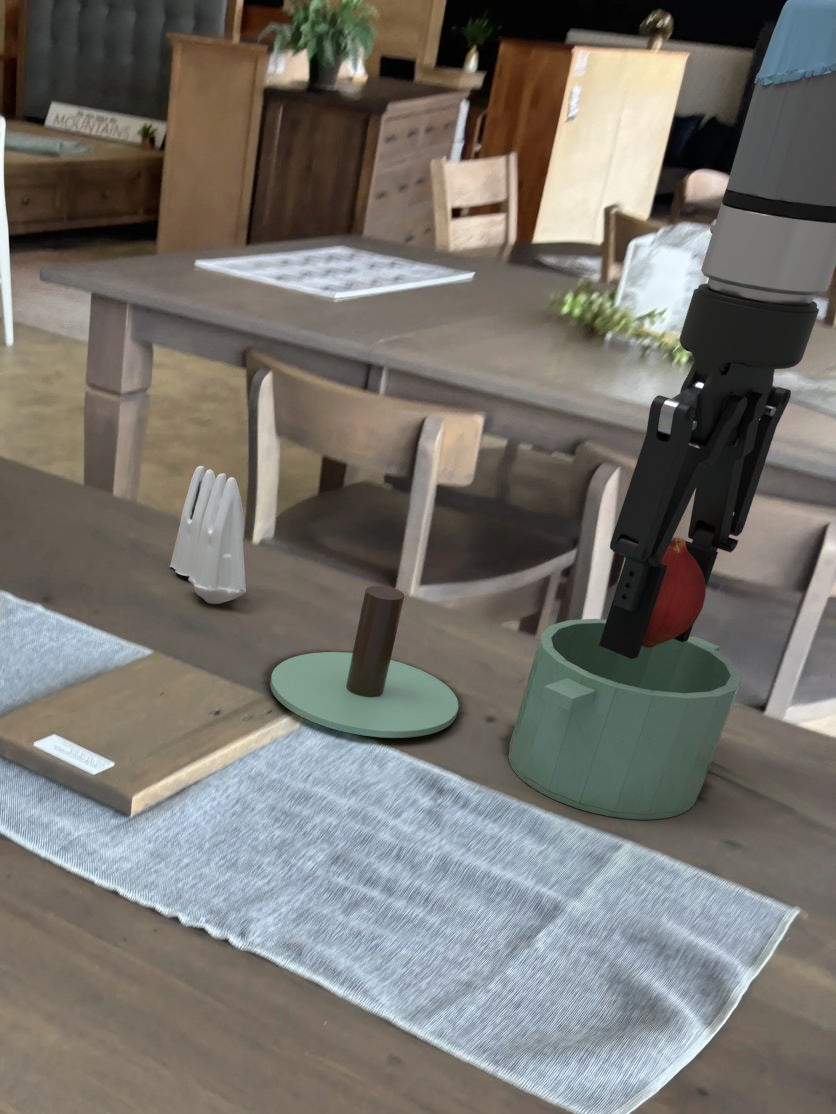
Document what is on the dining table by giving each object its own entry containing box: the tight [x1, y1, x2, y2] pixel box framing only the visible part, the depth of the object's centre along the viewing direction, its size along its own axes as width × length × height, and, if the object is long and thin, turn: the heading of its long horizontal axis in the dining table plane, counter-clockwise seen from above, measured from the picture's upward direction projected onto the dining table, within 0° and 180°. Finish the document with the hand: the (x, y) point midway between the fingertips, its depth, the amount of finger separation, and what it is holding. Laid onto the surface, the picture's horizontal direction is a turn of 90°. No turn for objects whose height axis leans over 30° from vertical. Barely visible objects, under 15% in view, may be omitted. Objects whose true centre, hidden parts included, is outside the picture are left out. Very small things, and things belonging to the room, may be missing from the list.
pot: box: [508, 618, 743, 821], centre depth 104 cm, size 14×19×10 cm
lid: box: [269, 585, 460, 739], centre depth 111 cm, size 15×15×9 cm
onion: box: [641, 535, 707, 648], centre depth 99 cm, size 6×6×8 cm
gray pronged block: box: [169, 465, 247, 605], centre depth 128 cm, size 12×4×11 cm, turn 12°
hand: (644, 642), depth 101 cm, fingers closed on onion, 6 cm apart
